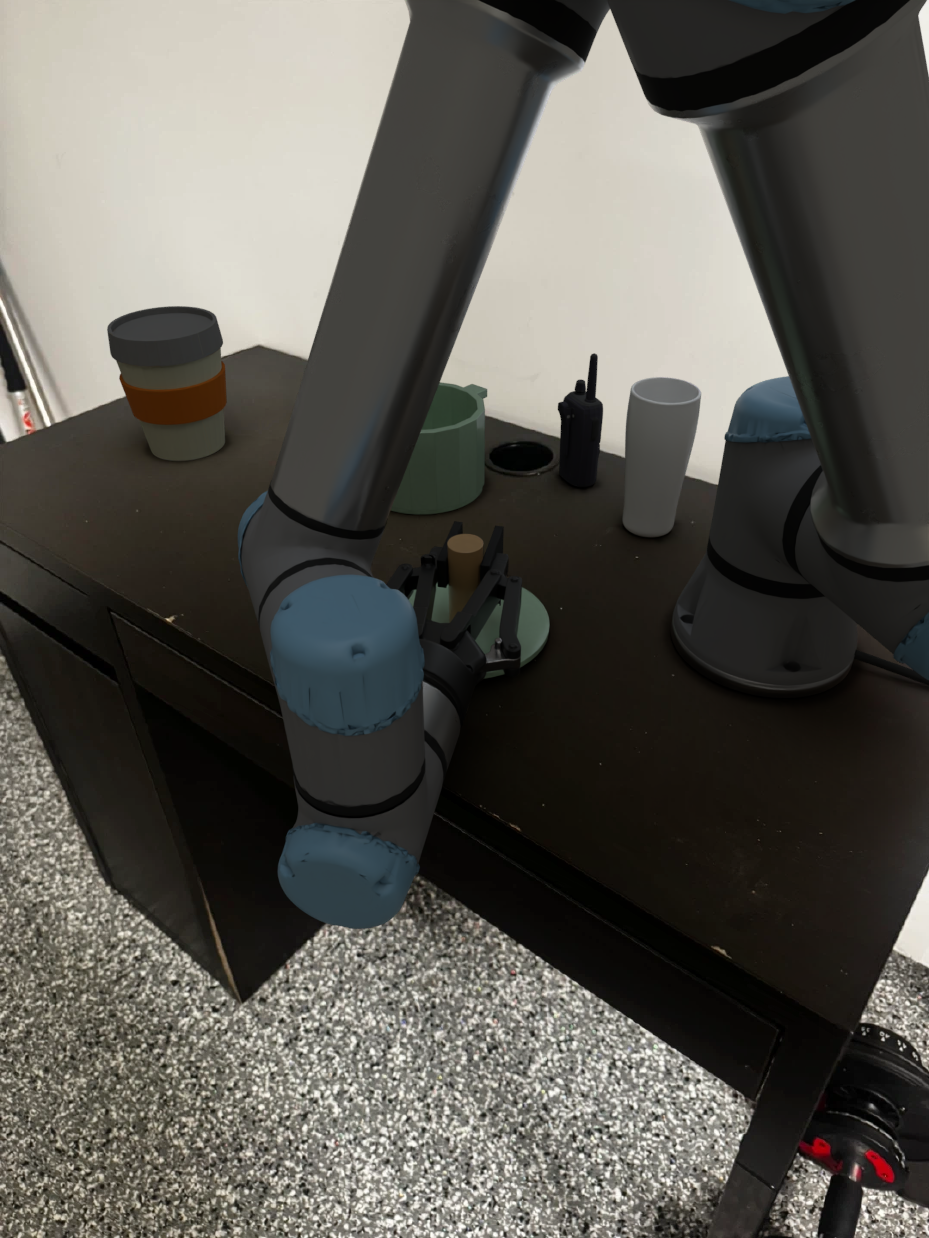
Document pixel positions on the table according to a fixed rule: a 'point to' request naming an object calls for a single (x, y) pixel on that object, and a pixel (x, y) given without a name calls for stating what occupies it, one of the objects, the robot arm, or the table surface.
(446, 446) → the pot
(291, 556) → the robot arm
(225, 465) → the table surface
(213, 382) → the reusable coffee cup
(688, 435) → the drinking glass
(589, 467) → the two-way radio
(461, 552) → the lid
